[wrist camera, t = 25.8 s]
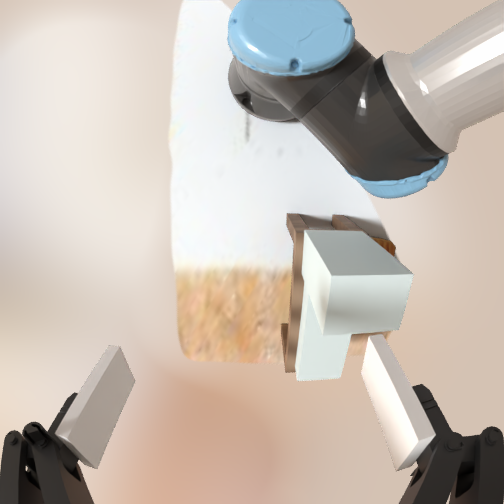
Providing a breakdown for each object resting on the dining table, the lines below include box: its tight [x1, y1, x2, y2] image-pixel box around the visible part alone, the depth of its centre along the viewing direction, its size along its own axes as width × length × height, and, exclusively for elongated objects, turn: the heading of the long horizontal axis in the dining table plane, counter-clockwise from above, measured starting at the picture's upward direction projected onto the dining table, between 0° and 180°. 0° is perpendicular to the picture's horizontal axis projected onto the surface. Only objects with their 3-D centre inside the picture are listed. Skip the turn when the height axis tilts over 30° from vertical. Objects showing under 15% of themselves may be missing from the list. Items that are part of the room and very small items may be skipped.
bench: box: [281, 213, 369, 373], centre depth 45 cm, size 24×10×12 cm, turn 0°
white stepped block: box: [295, 230, 414, 381], centre depth 32 cm, size 23×8×14 cm, turn 0°
